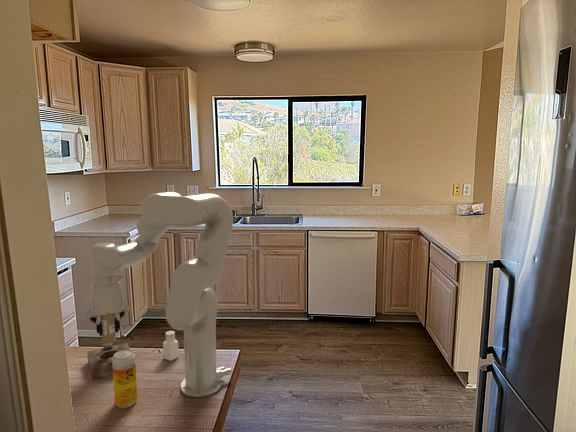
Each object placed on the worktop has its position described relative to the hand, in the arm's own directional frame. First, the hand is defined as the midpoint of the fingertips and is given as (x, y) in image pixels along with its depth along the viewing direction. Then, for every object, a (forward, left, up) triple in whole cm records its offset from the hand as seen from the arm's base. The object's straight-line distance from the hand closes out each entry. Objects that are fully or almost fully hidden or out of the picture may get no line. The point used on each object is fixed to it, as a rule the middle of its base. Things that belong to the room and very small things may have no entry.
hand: (108, 332), depth 134 cm
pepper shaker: (-19, +5, -12) cm, 23 cm away
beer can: (-1, +25, -12) cm, 28 cm away
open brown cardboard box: (0, 0, -12) cm, 12 cm away
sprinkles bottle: (0, 0, -4) cm, 4 cm away
